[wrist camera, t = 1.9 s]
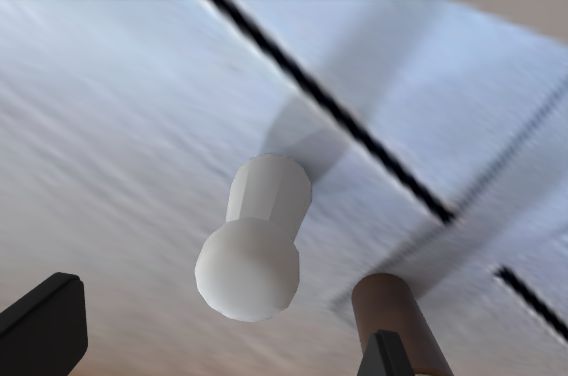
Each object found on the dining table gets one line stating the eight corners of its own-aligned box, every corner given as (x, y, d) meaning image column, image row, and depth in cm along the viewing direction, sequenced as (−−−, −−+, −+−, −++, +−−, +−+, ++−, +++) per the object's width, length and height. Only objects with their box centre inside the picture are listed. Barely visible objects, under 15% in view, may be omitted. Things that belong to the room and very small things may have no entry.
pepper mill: (359, 268, 25) (398, 402, 15) (418, 278, 25) (501, 421, 15) (345, 315, 27) (371, 465, 16) (400, 325, 27) (463, 482, 16)
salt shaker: (250, 221, 25) (197, 356, 12) (229, 157, 23) (142, 240, 11) (319, 207, 24) (333, 336, 12) (302, 138, 22) (298, 205, 10)
